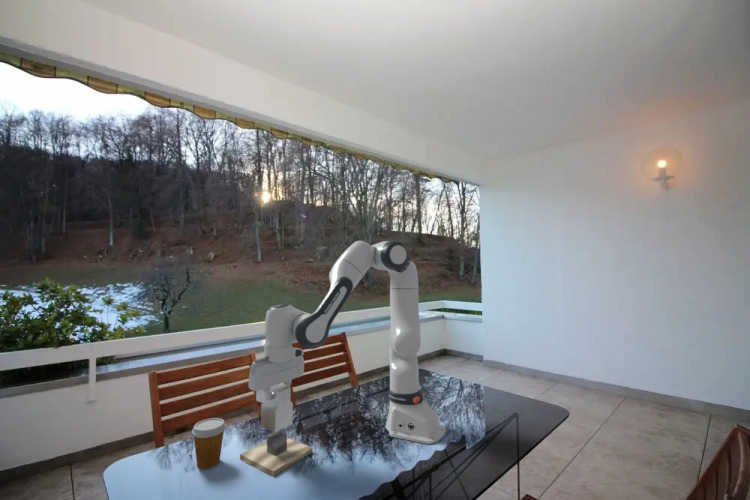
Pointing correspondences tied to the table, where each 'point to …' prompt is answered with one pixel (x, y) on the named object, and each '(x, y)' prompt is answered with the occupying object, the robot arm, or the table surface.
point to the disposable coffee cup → (208, 442)
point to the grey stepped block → (276, 408)
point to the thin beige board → (276, 453)
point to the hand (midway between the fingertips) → (277, 396)
